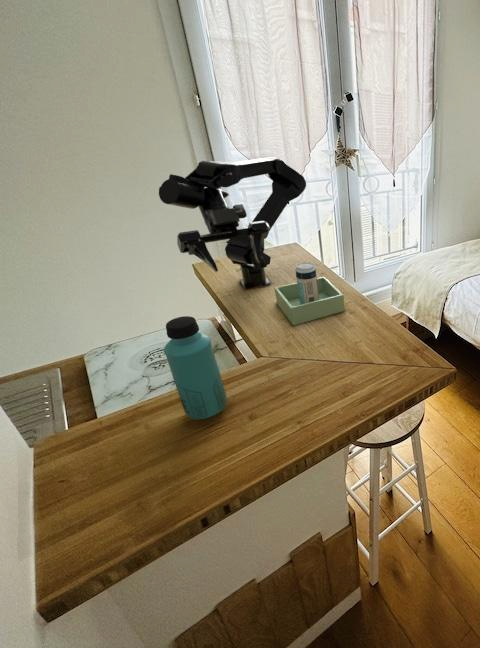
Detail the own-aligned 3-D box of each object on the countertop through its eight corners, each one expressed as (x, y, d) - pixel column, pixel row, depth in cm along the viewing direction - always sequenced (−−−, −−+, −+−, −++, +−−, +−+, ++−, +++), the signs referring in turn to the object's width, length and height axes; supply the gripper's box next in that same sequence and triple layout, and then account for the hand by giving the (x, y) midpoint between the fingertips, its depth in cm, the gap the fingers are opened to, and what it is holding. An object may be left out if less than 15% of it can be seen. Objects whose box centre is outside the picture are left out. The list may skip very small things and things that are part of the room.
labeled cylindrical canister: (322, 302, 110) (318, 263, 104) (314, 310, 105) (309, 270, 100) (306, 300, 110) (301, 260, 105) (296, 308, 106) (291, 268, 100)
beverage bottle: (238, 407, 74) (215, 316, 65) (203, 432, 68) (174, 336, 60) (212, 396, 76) (187, 306, 67) (176, 420, 70) (143, 325, 61)
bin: (276, 303, 108) (274, 287, 106) (325, 291, 116) (324, 276, 114) (293, 325, 99) (290, 308, 97) (344, 310, 108) (343, 294, 106)
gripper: (167, 198, 85) (193, 261, 84) (261, 189, 98) (285, 244, 97) (167, 222, 93) (192, 281, 92) (254, 211, 106) (277, 262, 105)
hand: (238, 266), depth 96 cm, fingers open, 9 cm apart
